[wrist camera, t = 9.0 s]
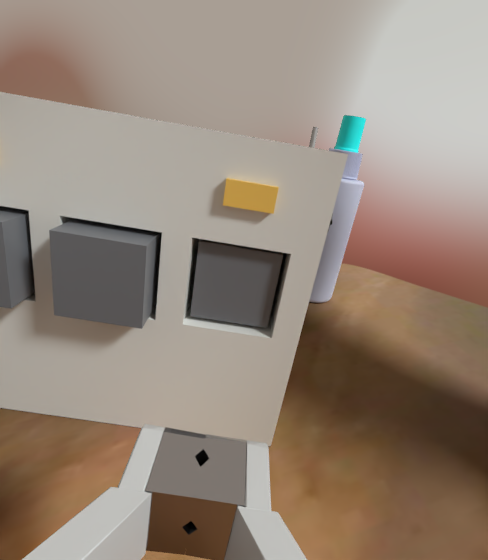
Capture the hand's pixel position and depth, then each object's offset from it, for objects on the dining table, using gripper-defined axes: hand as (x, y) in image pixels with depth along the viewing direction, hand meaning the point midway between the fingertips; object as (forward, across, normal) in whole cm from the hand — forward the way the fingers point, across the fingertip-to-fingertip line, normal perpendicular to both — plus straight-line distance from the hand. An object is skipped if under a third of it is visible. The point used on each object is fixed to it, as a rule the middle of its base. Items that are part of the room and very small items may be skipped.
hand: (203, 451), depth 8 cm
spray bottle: (+36, -11, +11) cm, 39 cm away
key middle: (+11, +6, +3) cm, 13 cm away
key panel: (+15, +6, +11) cm, 20 cm away
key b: (+13, 0, +2) cm, 13 cm away
